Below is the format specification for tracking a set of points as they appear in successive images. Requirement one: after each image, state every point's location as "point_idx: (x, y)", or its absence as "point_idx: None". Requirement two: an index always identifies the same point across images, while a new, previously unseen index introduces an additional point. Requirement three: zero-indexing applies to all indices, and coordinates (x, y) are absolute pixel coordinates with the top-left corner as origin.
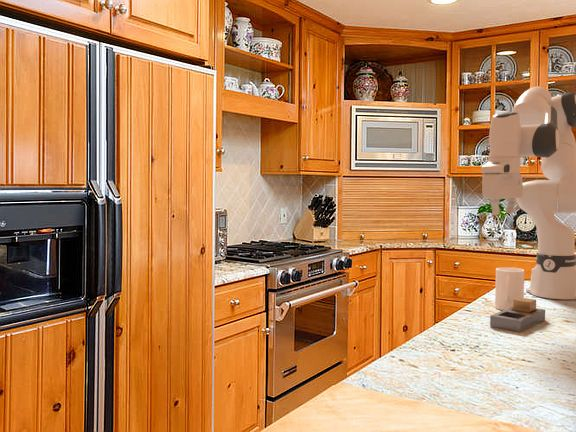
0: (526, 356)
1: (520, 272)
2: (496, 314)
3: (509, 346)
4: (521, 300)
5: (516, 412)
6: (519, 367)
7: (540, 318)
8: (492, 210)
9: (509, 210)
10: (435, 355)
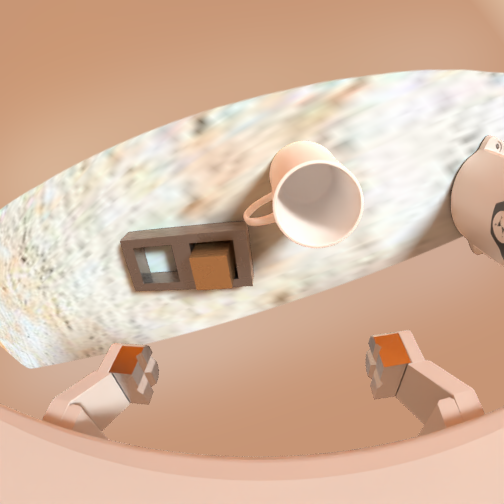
0: (76, 321)
1: (303, 245)
2: (135, 244)
3: (82, 296)
4: (198, 272)
5: (11, 346)
6: (51, 326)
7: None
8: (103, 362)
9: (375, 367)
10: (4, 257)
